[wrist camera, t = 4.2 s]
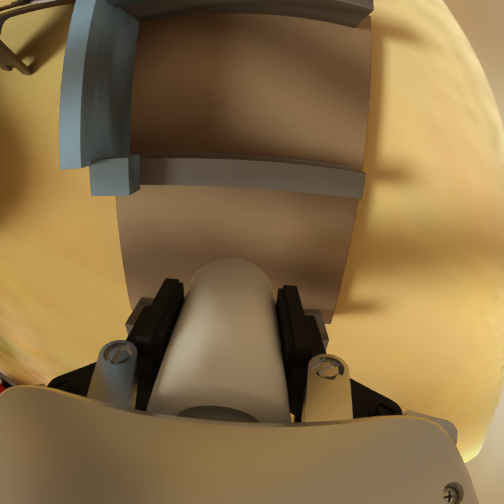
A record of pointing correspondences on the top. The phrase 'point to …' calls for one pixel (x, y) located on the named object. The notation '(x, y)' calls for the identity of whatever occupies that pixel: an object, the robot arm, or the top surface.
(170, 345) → the cream plastic cylinder
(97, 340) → the top surface
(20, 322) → the top surface
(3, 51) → the portable electronic device stand
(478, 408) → the top surface
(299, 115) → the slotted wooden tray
